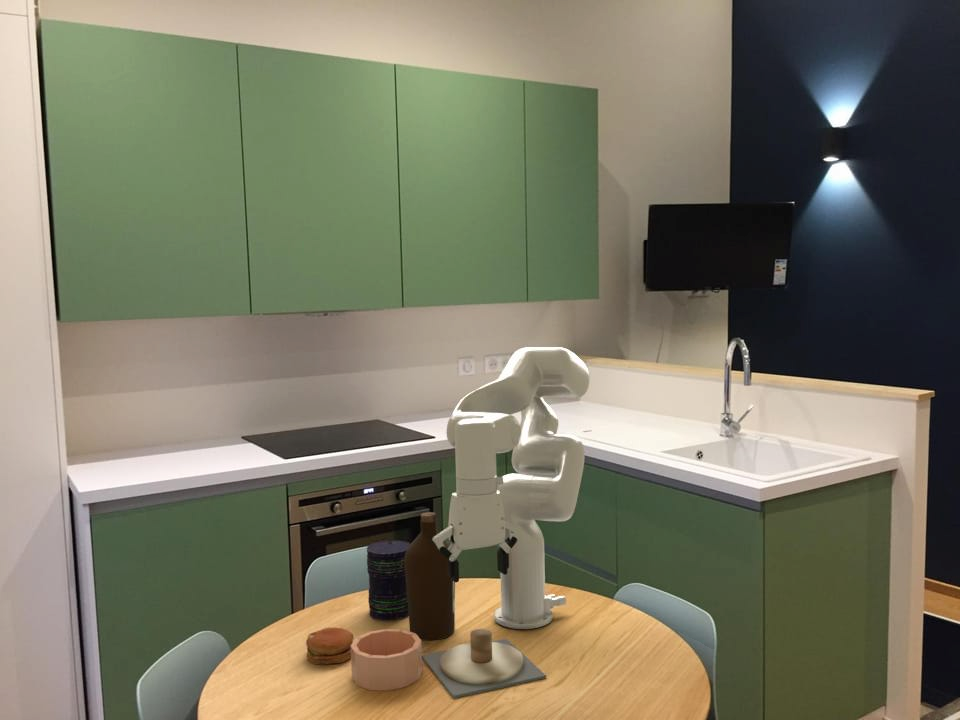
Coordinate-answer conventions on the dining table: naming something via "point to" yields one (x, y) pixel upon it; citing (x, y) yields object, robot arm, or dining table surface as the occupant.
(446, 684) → the mat
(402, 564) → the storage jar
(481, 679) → the lid
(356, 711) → the dining table surface
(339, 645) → the burger
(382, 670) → the bowl
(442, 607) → the olive oil
